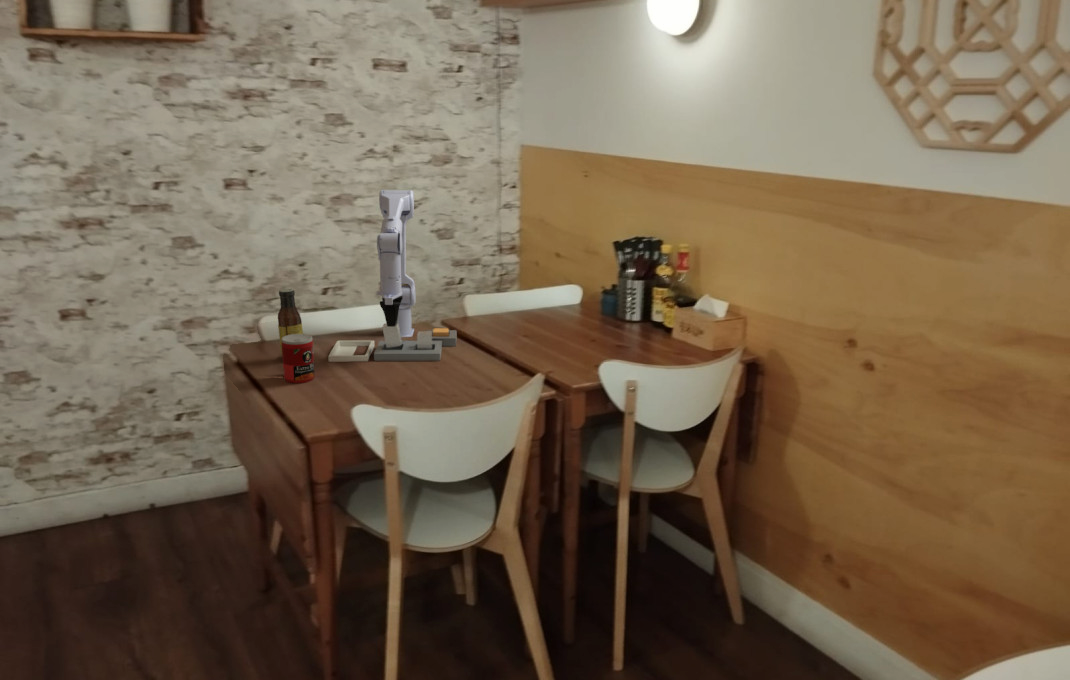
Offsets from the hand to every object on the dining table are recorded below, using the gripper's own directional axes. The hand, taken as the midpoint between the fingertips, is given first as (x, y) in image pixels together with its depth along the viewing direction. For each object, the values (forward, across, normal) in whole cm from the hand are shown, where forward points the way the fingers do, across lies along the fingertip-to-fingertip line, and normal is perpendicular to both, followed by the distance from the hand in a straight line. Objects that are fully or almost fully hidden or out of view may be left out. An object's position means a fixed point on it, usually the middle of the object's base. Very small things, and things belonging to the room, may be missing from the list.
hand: (392, 324), depth 233 cm
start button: (+8, -12, +13) cm, 19 cm away
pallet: (+9, 0, +4) cm, 10 cm away
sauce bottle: (+10, +4, -27) cm, 29 cm away
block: (+9, 0, +9) cm, 13 cm away
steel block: (+6, 0, 0) cm, 6 cm away
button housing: (+9, -12, +13) cm, 20 cm away
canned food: (+10, +20, -22) cm, 31 cm away
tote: (+9, -1, -12) cm, 15 cm away
